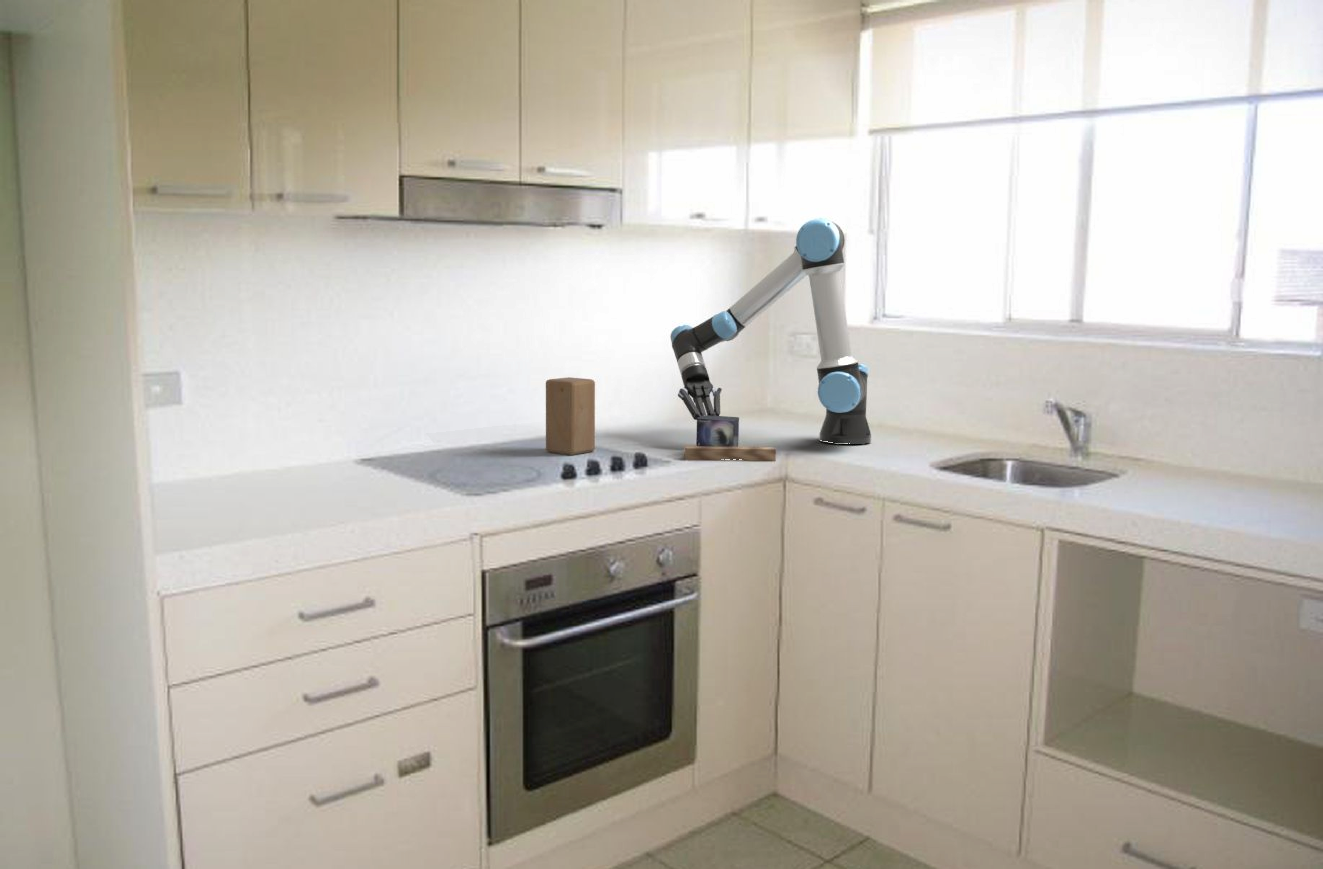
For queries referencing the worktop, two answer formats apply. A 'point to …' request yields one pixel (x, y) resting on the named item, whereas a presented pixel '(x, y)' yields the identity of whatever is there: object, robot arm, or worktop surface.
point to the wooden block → (570, 415)
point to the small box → (717, 431)
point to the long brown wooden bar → (730, 453)
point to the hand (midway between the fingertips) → (713, 437)
